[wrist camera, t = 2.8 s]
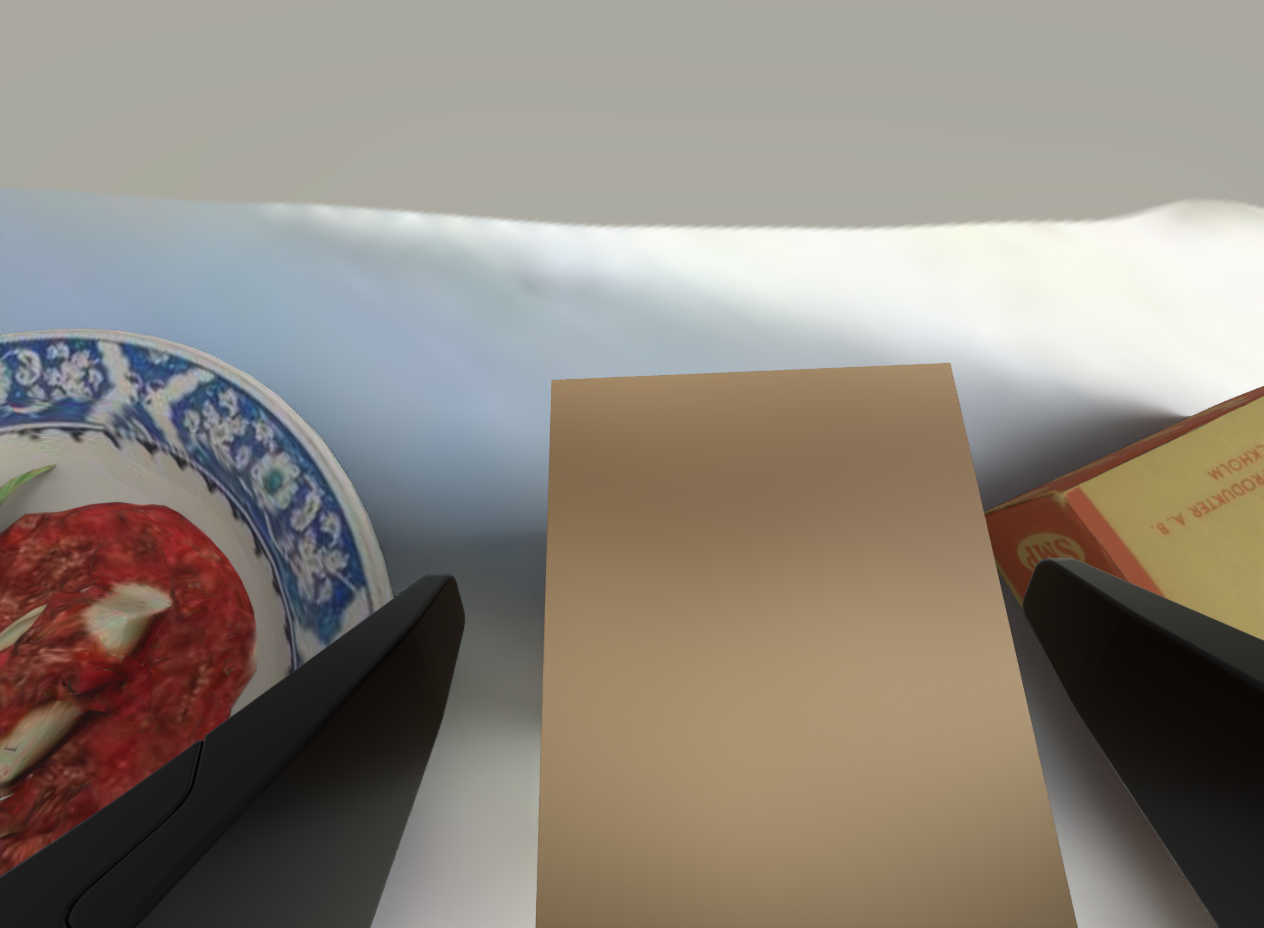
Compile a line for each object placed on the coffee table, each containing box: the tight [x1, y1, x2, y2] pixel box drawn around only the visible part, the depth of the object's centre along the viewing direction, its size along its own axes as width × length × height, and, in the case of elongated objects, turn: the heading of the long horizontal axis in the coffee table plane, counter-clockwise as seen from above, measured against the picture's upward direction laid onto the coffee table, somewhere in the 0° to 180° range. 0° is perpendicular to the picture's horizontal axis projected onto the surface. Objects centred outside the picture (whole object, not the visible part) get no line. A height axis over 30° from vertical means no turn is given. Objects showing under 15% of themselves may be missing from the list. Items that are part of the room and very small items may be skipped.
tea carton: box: [536, 363, 1078, 928], centre depth 11 cm, size 6×5×10 cm
